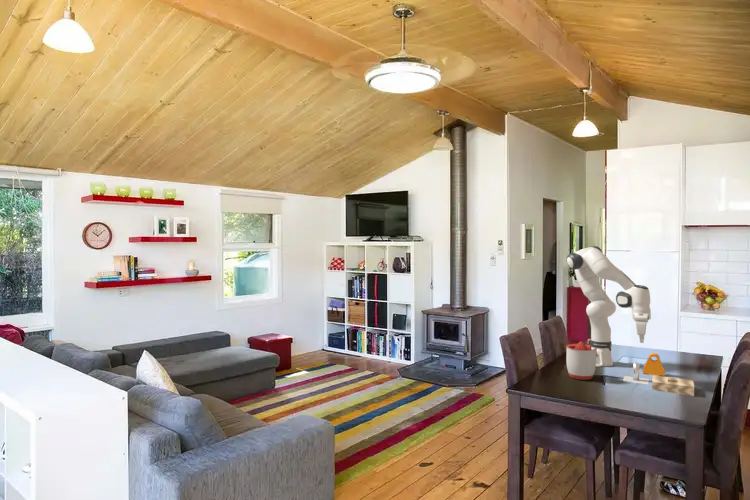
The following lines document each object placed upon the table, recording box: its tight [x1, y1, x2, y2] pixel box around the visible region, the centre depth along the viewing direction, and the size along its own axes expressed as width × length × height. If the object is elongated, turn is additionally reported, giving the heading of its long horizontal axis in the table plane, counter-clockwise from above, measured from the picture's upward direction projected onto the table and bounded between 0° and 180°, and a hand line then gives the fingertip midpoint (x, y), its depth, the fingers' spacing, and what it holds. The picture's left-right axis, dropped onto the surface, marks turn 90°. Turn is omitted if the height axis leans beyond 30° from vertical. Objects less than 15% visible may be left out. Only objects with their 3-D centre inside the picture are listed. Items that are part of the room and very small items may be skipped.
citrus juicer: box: [565, 341, 599, 381], centre depth 281 cm, size 16×17×20 cm
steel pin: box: [632, 362, 640, 381], centre depth 275 cm, size 3×3×9 cm
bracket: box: [642, 352, 666, 377], centre depth 288 cm, size 11×7×12 cm, turn 59°
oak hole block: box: [651, 375, 695, 397], centre depth 259 cm, size 18×14×4 cm
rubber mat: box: [622, 375, 650, 385], centre depth 275 cm, size 12×12×1 cm
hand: (642, 341), depth 275 cm, fingers open, 8 cm apart
